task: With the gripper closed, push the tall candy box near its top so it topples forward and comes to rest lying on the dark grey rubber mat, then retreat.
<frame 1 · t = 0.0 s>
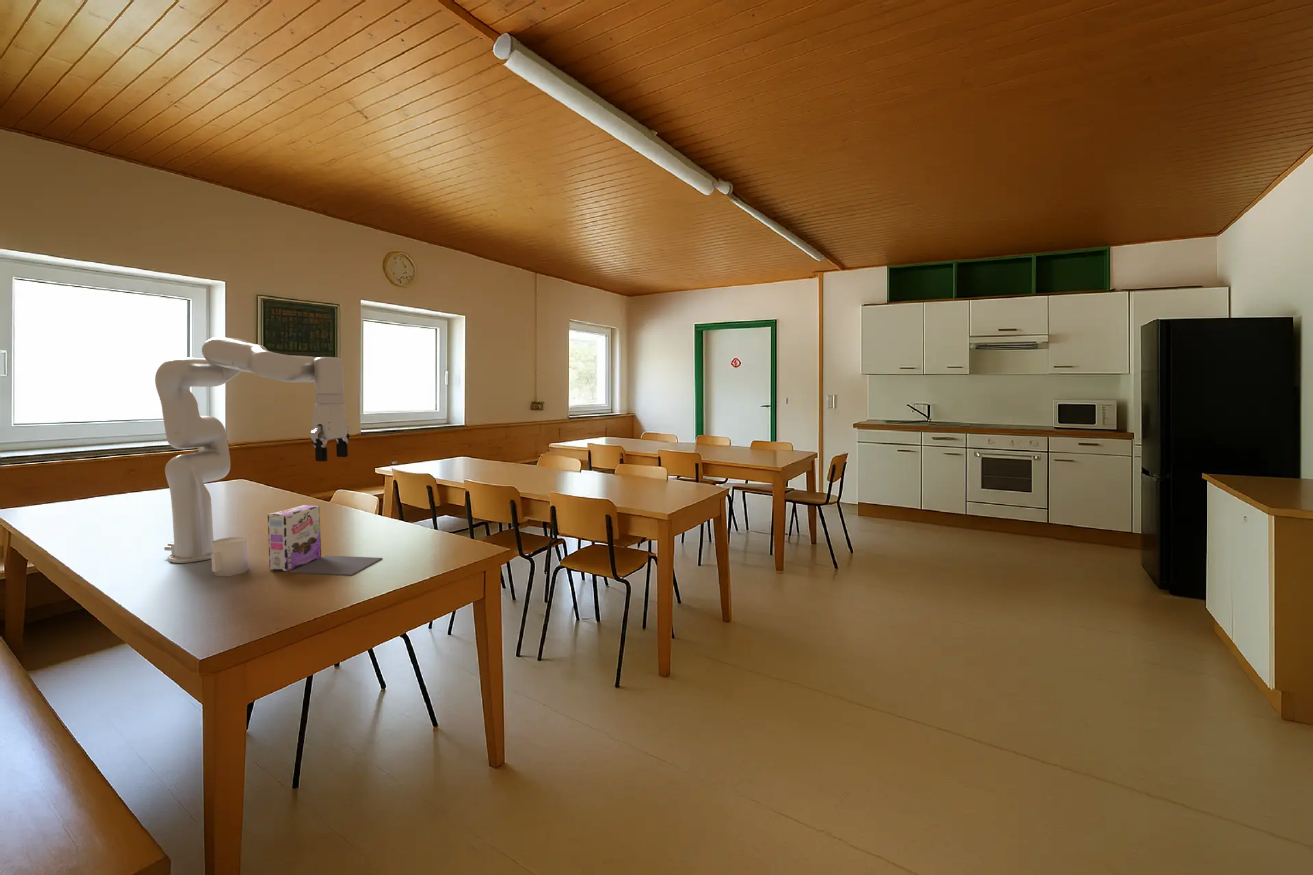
hand: (332, 458, 178), 31 cm above the table, fingers open, 9 cm apart
mat: (338, 565, 179), on the table
mug: (231, 571, 172), on the table
candy box: (296, 564, 180), on the table
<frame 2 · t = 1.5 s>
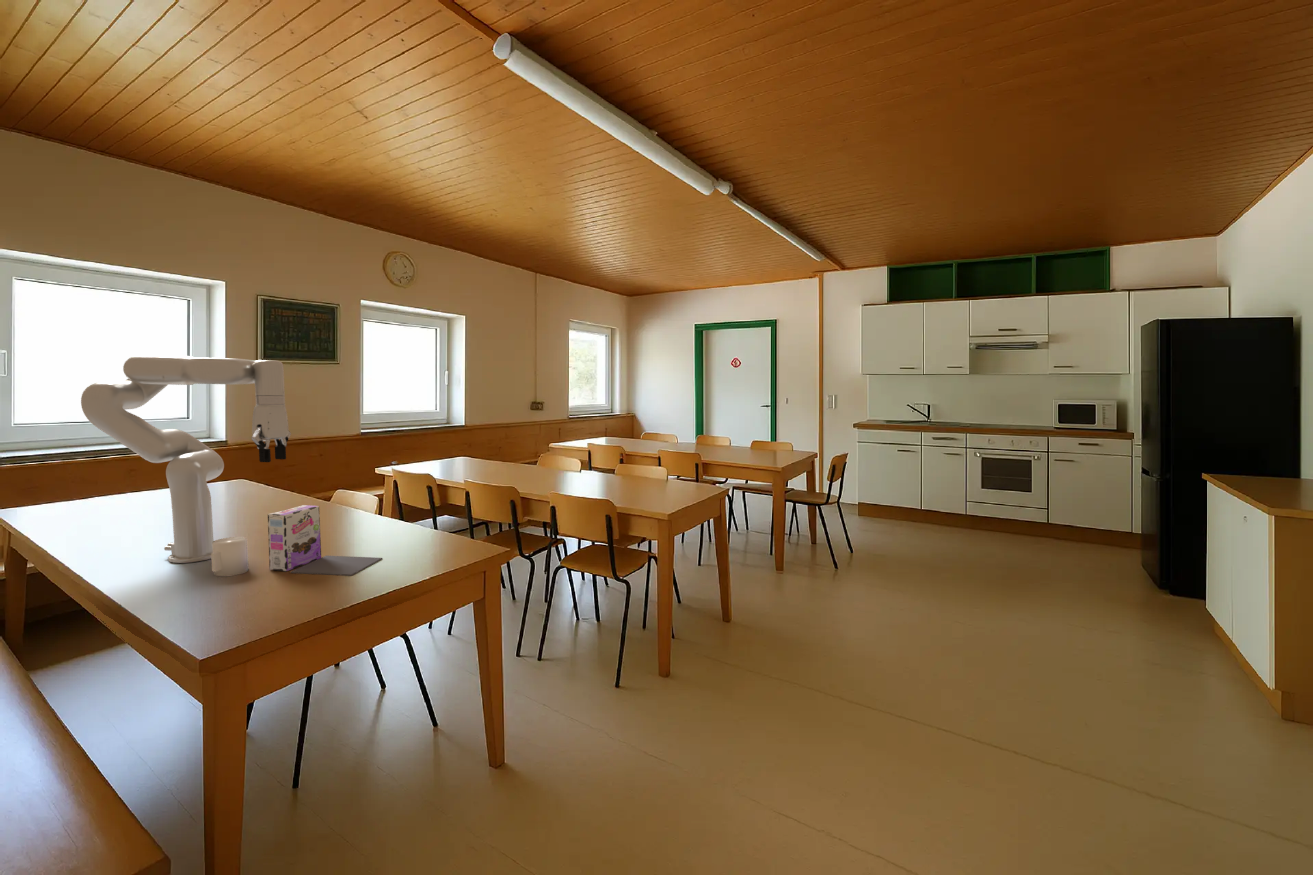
hand: (273, 460, 186), 30 cm above the table, fingers open, 5 cm apart
nothing on the table moved.
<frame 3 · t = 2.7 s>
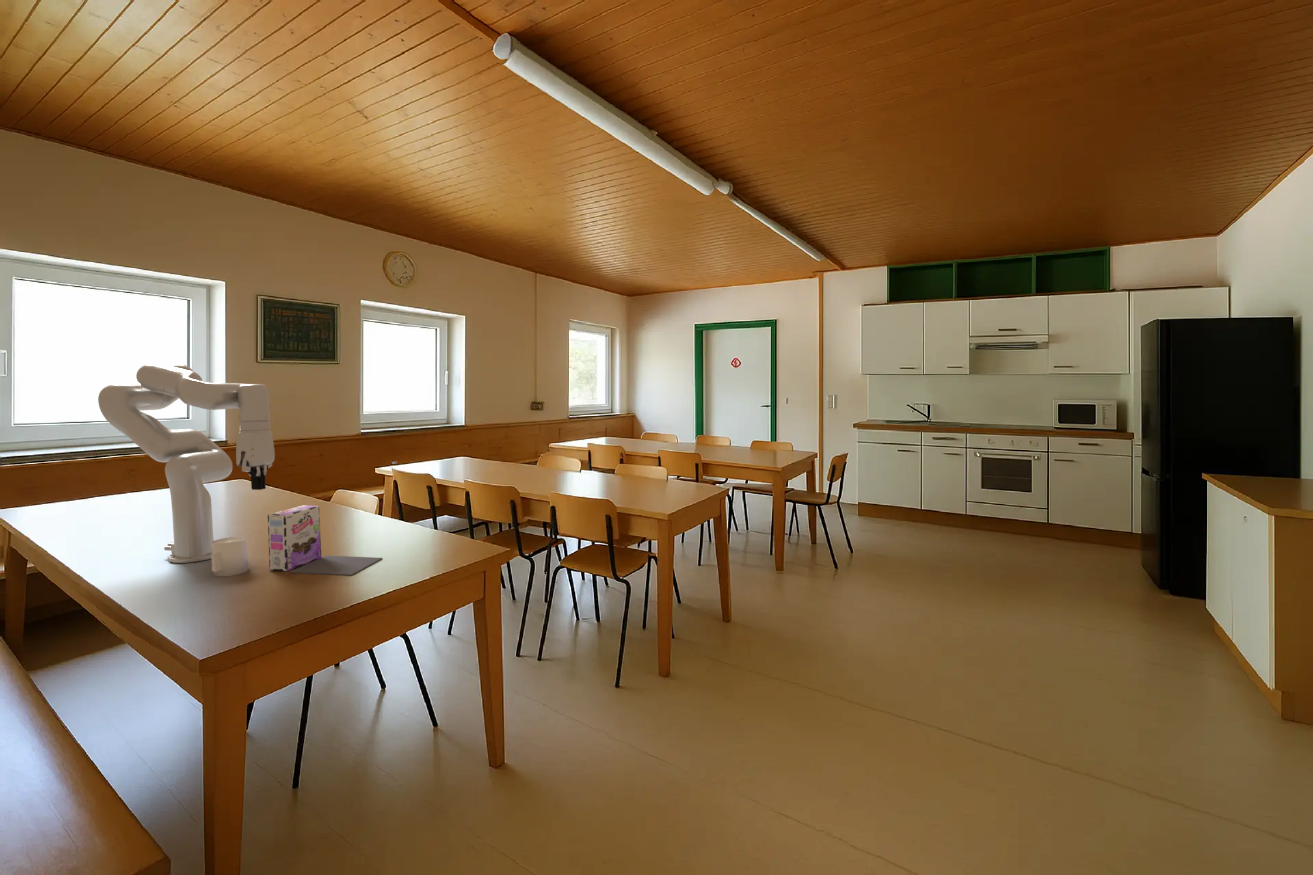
hand: (258, 489, 179), 22 cm above the table, fingers closed
nothing on the table moved.
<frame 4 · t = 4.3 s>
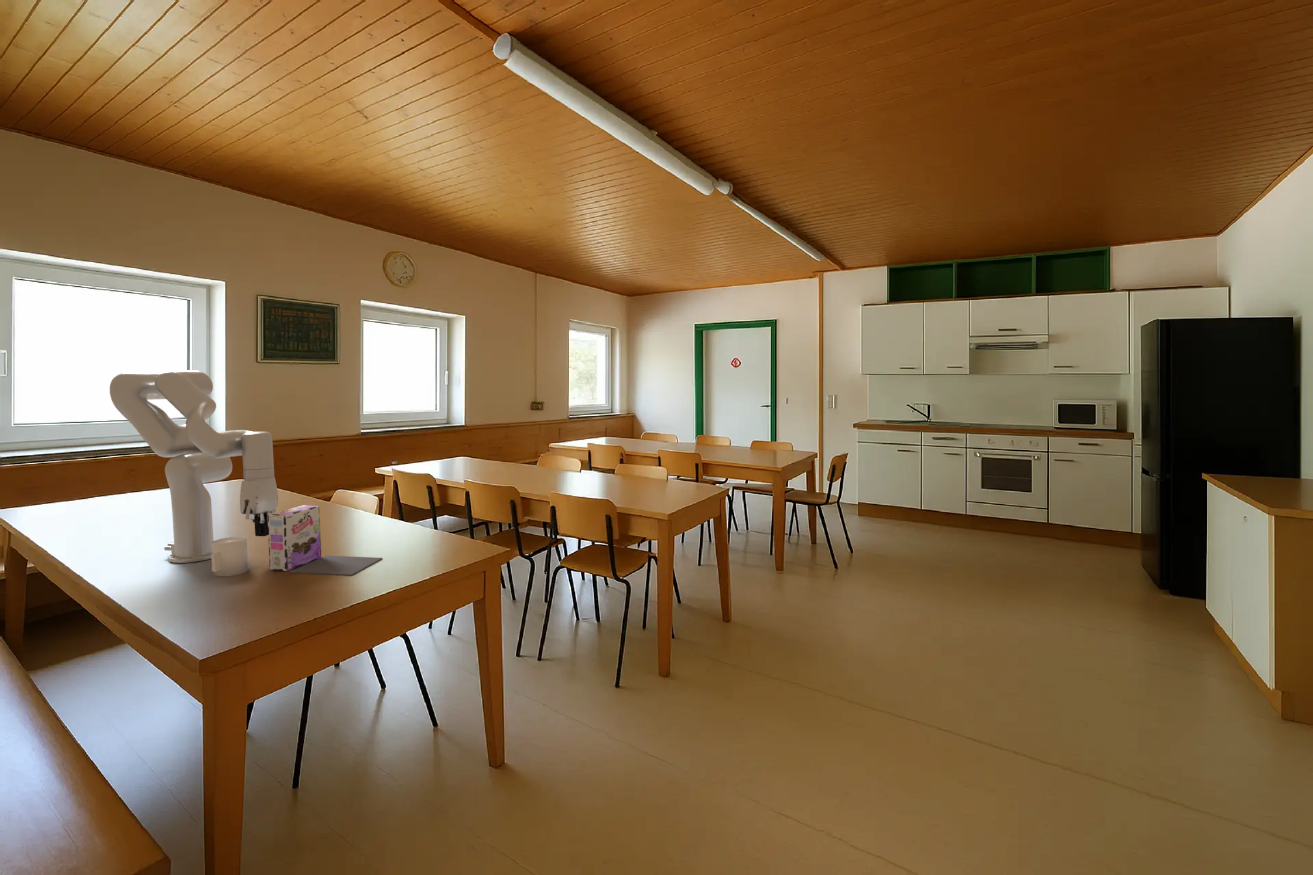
hand: (262, 535, 180), 8 cm above the table, fingers closed
nothing on the table moved.
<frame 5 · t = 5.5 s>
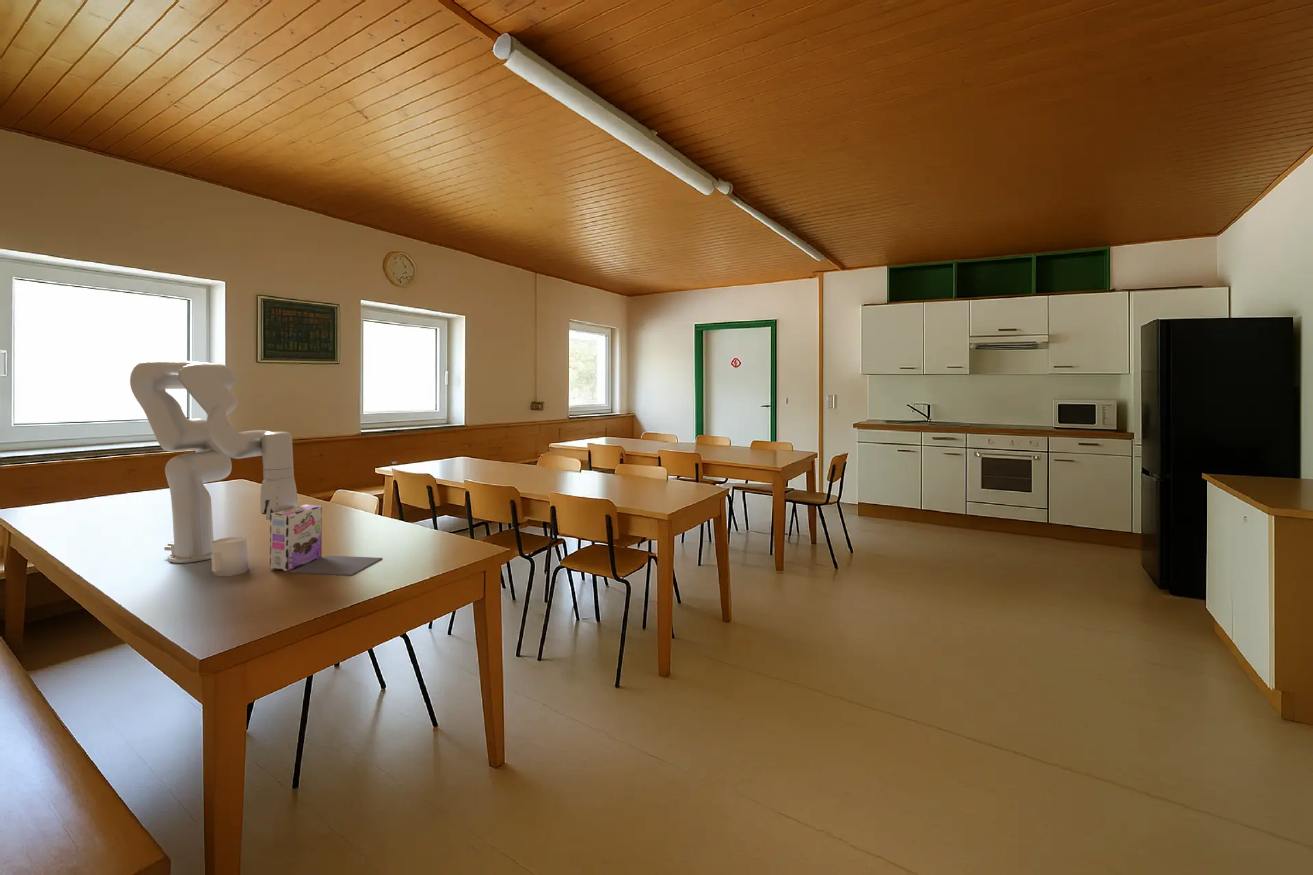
hand: (282, 535, 179), 8 cm above the table, fingers closed
candy box: (296, 564, 180), on the table, touching gripper
everything else where it was.
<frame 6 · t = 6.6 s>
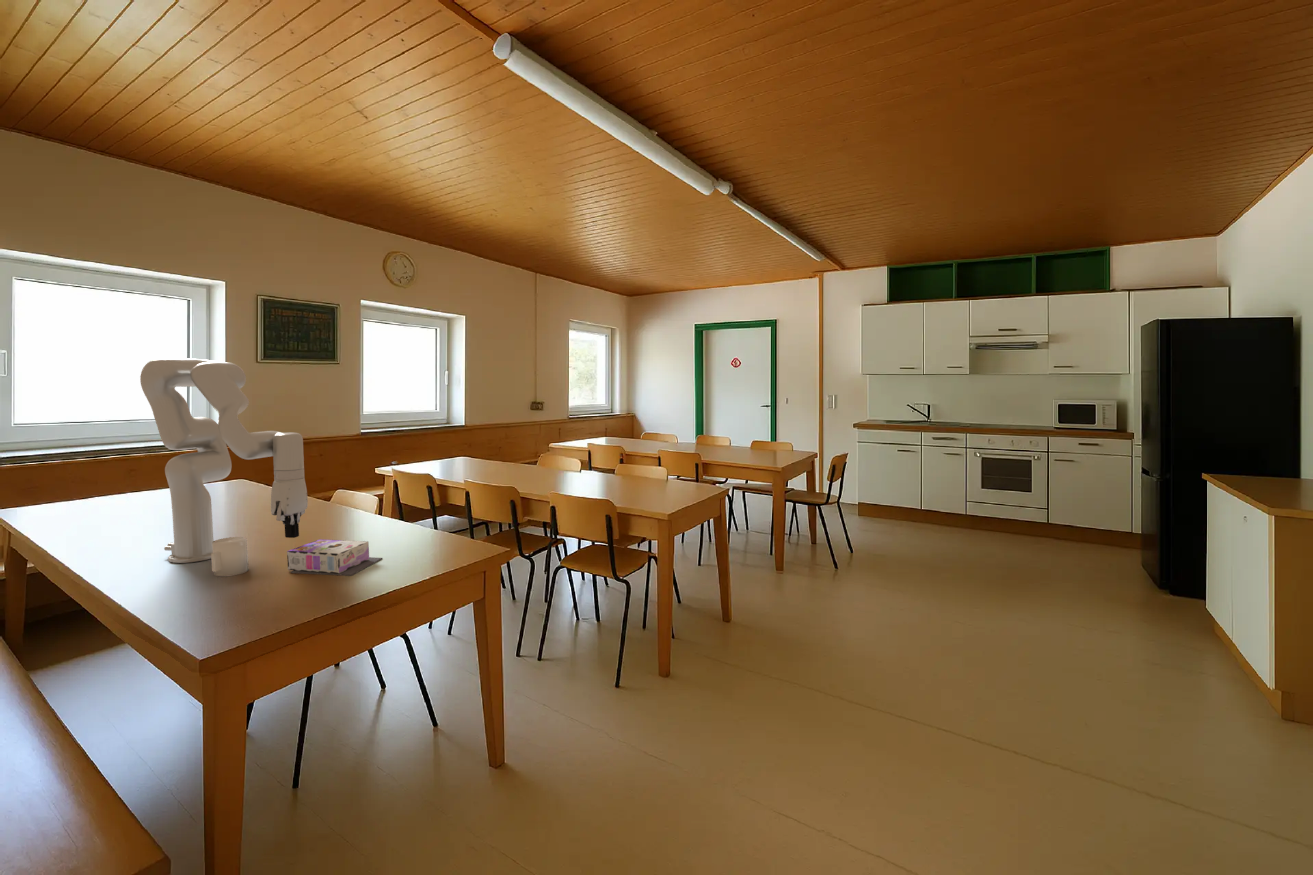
hand: (292, 536, 179), 8 cm above the table, fingers closed
candy box: (303, 553, 179), point 3 cm above the table, touching mat
everything else where it was.
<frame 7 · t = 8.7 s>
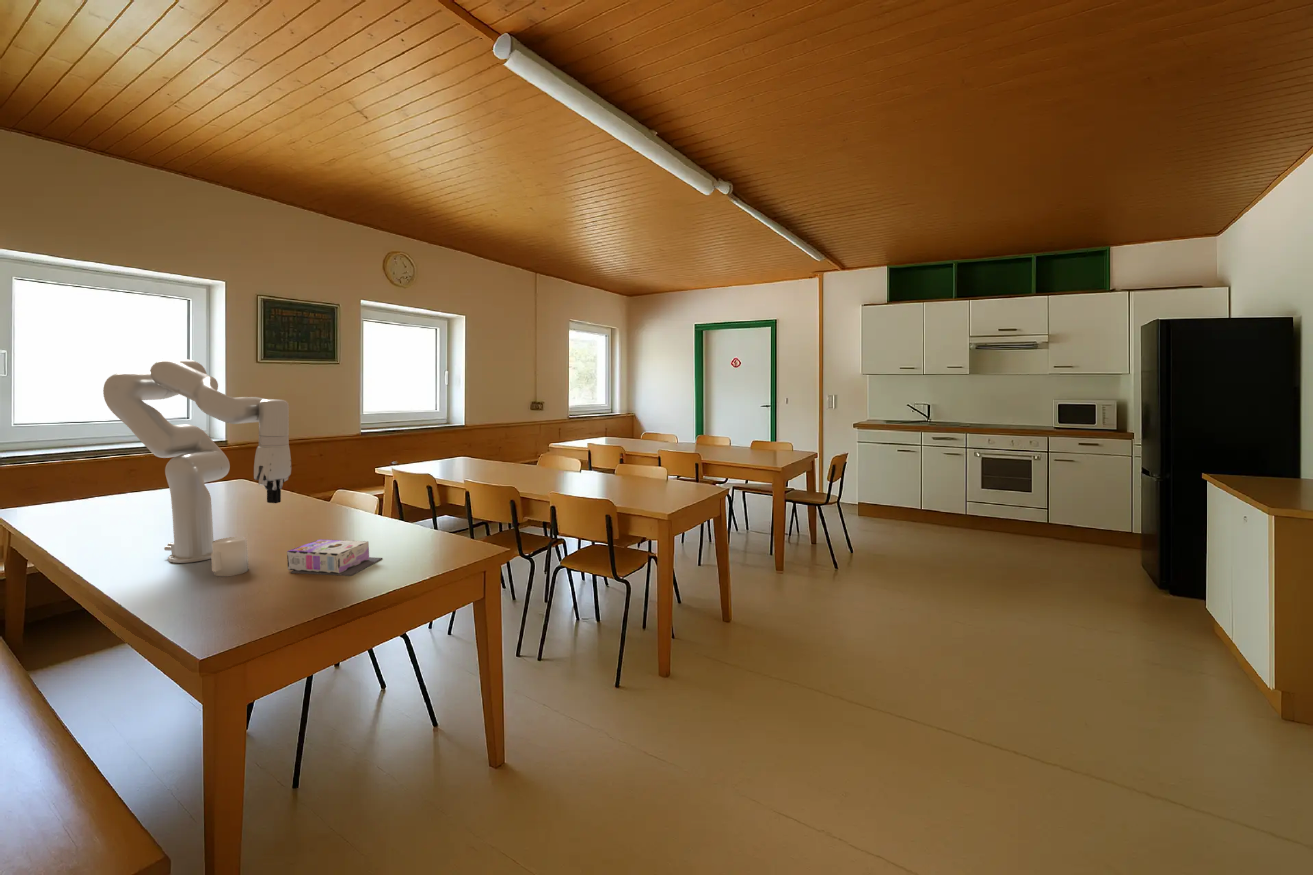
hand: (273, 502, 182), 18 cm above the table, fingers closed
nothing on the table moved.
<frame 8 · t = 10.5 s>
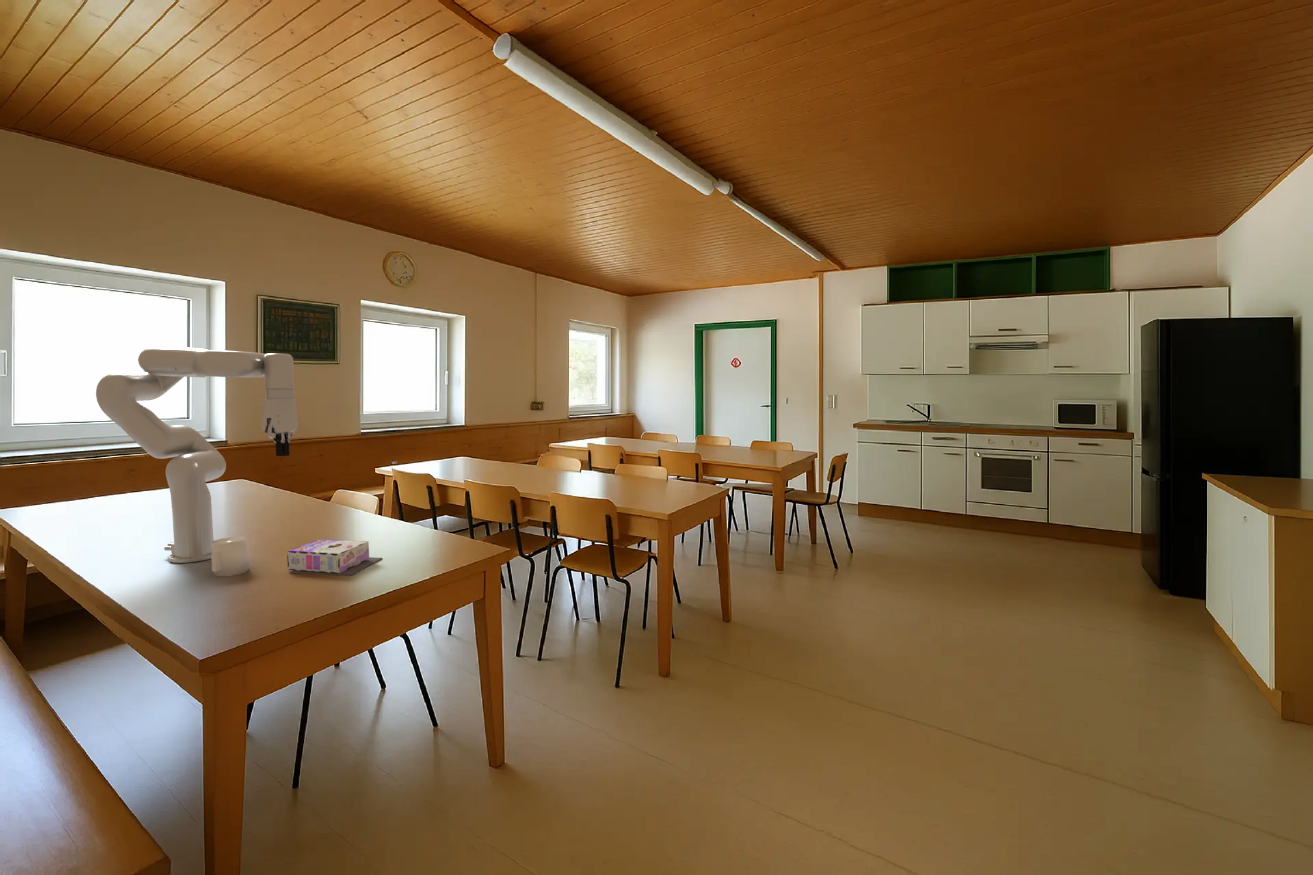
hand: (282, 455, 185), 31 cm above the table, fingers closed
nothing on the table moved.
at the end: candy box tilted 89°; candy box inside the target area (7.9 cm from its centre), point 3.2 cm above the table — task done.
